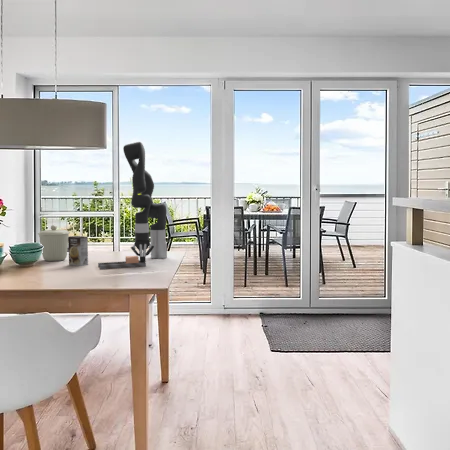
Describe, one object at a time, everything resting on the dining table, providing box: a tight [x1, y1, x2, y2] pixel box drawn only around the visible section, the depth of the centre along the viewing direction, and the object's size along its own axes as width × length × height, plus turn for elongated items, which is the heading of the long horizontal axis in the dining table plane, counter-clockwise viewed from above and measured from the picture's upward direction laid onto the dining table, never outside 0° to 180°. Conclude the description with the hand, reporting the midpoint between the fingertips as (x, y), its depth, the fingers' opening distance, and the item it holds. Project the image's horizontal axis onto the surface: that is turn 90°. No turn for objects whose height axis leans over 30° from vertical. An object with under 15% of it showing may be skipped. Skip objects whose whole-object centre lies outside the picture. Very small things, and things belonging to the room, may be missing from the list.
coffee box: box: [68, 235, 89, 267], centre depth 285 cm, size 9×6×16 cm
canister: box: [37, 224, 70, 262], centre depth 304 cm, size 18×18×21 cm
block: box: [125, 255, 140, 264], centre depth 274 cm, size 6×6×5 cm
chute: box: [97, 260, 147, 270], centre depth 272 cm, size 24×10×3 cm, turn 110°
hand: (142, 263), depth 275 cm, fingers closed
